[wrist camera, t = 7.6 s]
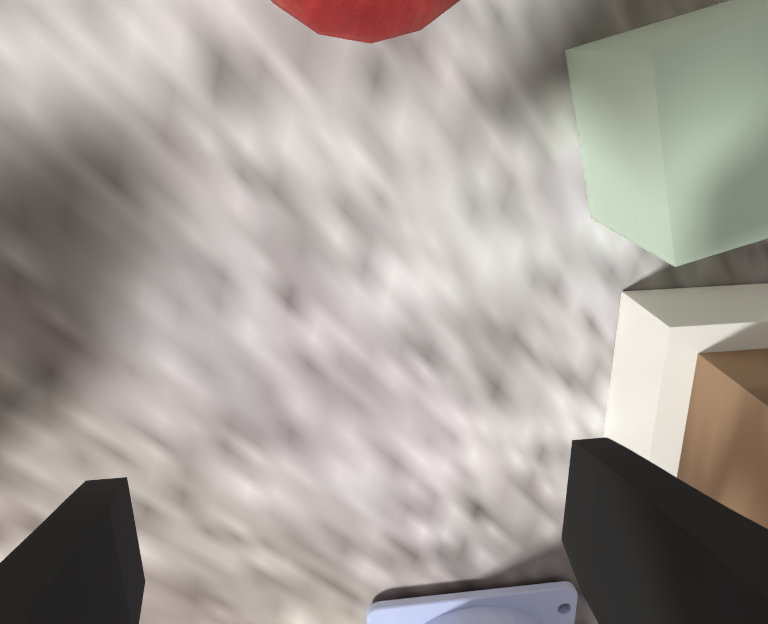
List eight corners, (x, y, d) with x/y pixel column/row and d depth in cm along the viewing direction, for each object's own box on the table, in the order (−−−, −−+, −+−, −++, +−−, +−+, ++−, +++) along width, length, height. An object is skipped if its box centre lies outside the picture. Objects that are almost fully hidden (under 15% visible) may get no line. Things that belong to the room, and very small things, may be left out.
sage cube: (743, 170, 21) (870, 206, 17) (589, 217, 21) (675, 267, 17) (732, -1, 19) (872, -14, 15) (563, 50, 19) (651, 53, 15)
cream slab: (778, 458, 26) (838, 509, 23) (598, 475, 25) (637, 529, 22) (820, 280, 23) (894, 313, 20) (621, 291, 22) (669, 327, 19)
